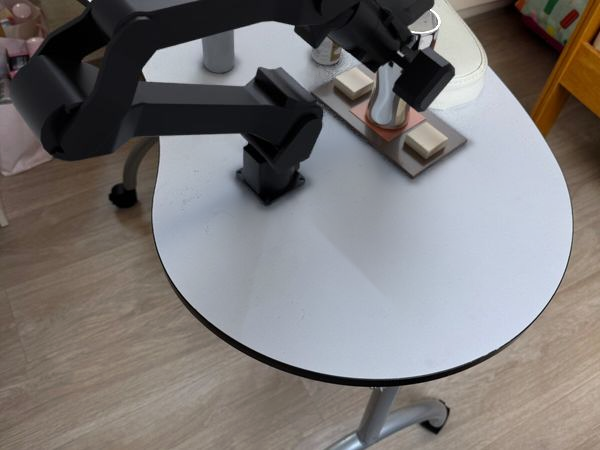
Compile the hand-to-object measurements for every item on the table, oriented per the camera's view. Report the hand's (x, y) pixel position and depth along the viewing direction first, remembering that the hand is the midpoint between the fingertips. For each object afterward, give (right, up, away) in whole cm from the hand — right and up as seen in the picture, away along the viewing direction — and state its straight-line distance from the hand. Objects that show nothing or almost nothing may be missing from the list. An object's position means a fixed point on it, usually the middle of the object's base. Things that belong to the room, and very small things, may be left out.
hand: (405, 69), depth 76 cm
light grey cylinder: (-26, +3, +10) cm, 28 cm away
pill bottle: (-10, +5, +13) cm, 17 cm away
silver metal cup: (-2, -5, +5) cm, 7 cm away
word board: (-2, -5, +6) cm, 8 cm away
